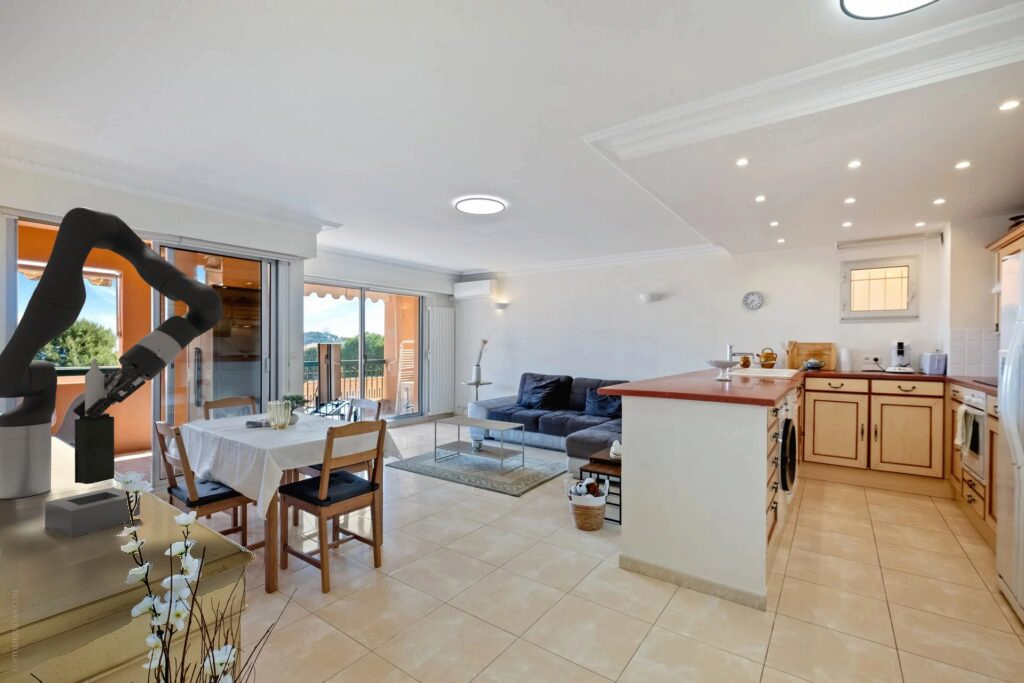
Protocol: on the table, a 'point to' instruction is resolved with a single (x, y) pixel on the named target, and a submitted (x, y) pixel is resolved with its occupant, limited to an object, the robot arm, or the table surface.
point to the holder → (88, 512)
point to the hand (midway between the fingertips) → (83, 414)
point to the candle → (94, 435)
